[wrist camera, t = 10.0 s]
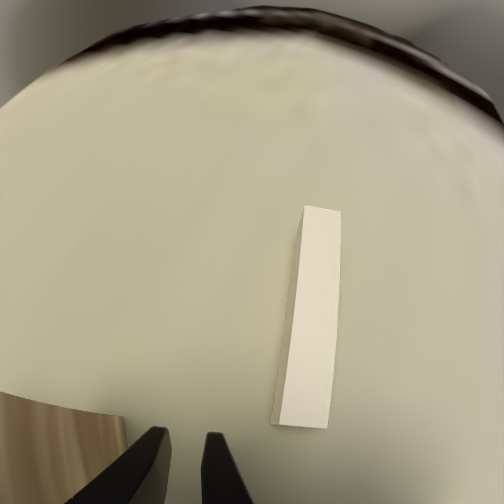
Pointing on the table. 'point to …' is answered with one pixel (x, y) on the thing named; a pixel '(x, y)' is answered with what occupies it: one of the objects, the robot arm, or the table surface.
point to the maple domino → (53, 450)
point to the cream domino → (310, 323)
